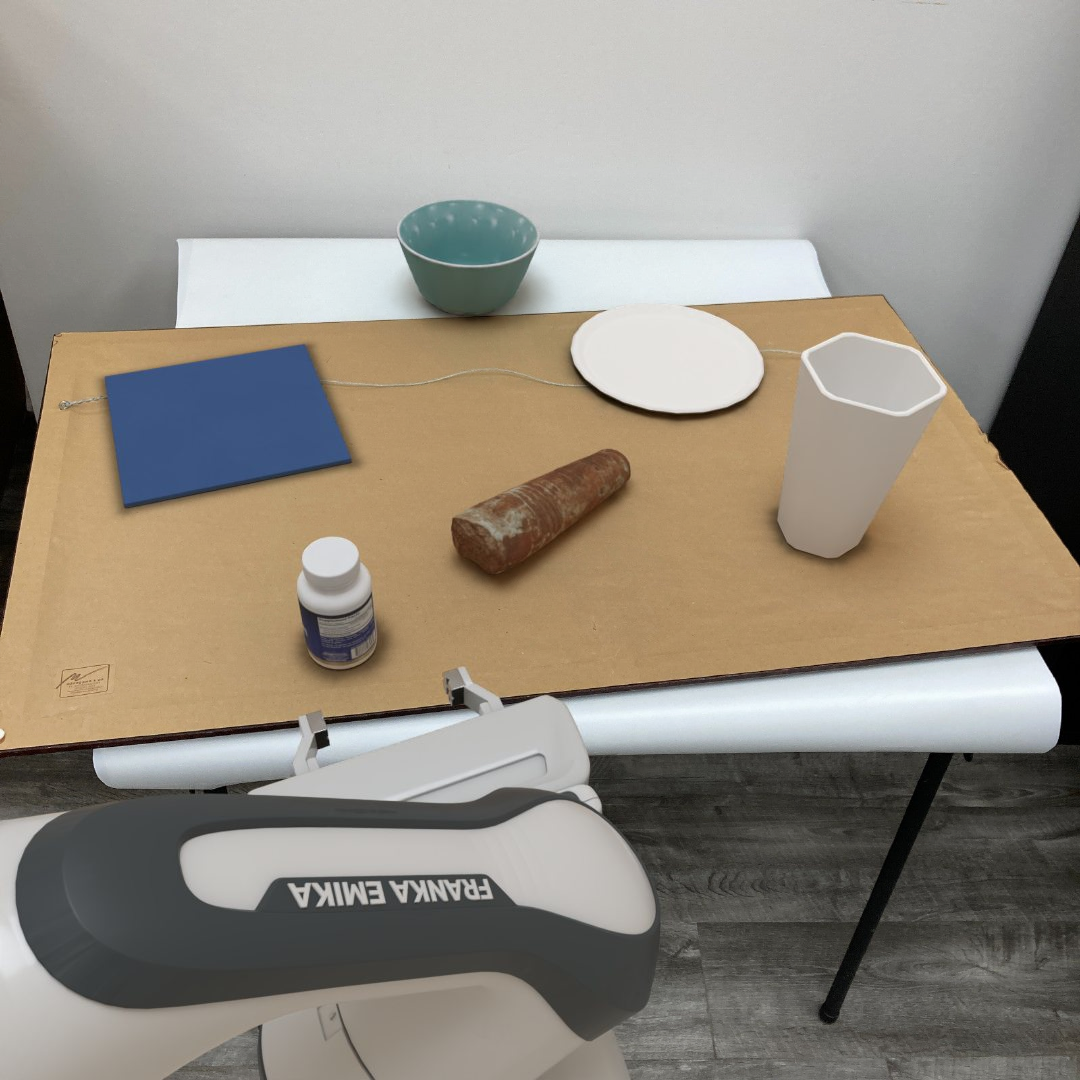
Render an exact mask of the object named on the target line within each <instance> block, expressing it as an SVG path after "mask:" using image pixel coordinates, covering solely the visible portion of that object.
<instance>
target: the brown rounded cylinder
mask: <svg viewBox="0 0 1080 1080" xmlns="http://www.w3.org/2000/svg"><path fill="white" fill-rule="evenodd" d="M631 470H632V469H631V464H630V461H629V459H628V458H627V456H625V455H624V453H622V452H621V451H619V450H617V449H613V448H602V449H600V450H598V451H596V452H594V453H592V454H589V455H587V456H584V457H582V458H579V459H577V460H574V461H572V462H570V463H567V464H565V465H563V466H560V467H557V468H555V469H553V470H551V471H548V472H546V473H544V474H542V475H540V476H539V475H538V476H537V477H534V478H532V479H530V480H528V481H525V482H523V483H522V484H519V485H517V486H514V487H512V488H509V489H508V490H505V491H503V492H501V493H499V494H497V495H495V496H492V497H490V498H488V499H485V500H483V501H481V502H478V503H477V504H475V505H473V506H471V507H469V508H468V509H466V510H464V511H463V512H461V513H458V514H456V515H454V516H453V517H452V518H451V525H450V532H451V539H452V545H453V546H454V548H455V550H456V551H457V553H458V554H459V555H460V556H463V557H465V558H468V559H470V560H471V561H473V563H475V564H477V566H479V567H480V569H482V570H484V572H486V573H489V574H492V575H498V574H501V573H503V572H507V571H508V570H510V569H512V568H514V567H515V566H517V565H518V564H520V563H521V562H523V561H524V560H526V559H527V558H528V557H531V555H533V554H534V553H536V552H537V551H539V550H541V548H544V547H545V546H546V545H547V544H548V543H550V542H551V541H552V540H554V539H555V538H557V537H558V536H560V534H562V533H563V532H565V531H566V530H567V529H568V528H569V527H571V526H572V525H573V524H575V523H576V522H578V521H579V520H580V519H581V518H583V516H585V515H586V514H587V513H589V512H590V511H592V510H593V509H594V508H596V507H597V506H598V505H600V504H601V503H603V502H604V501H605V500H606V499H608V498H609V497H610V496H611V495H613V494H614V493H615V491H617V490H619V489H620V488H621V487H622V486H623V485H625V484H627V482H629V480H630V478H631V475H632V473H631V472H632V471H631Z"/></svg>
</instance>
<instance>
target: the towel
mask: <svg viewBox="0 0 1080 1080" xmlns="http://www.w3.org/2000/svg"><path fill="white" fill-rule="evenodd" d="M104 382H105V388H106V395H107V401H108V408H109V415H110V422H111V429H112V435H113V442H114V449H115V453H116V454H115V455H116V461H117V467H118V468H117V471H118V475H119V482H120V483H119V484H120V488H121V495H122V503H123V507H124V509H127V508H133V507H137V506H142V505H147V504H152V503H153V504H154V503H157V502H162V501H166V500H173V499H177V498H182V497H183V498H184V497H186V496H187V497H188V496H193V495H196V494H201V493H202V494H203V493H206V492H212V491H217V490H221V489H227V488H232V487H237V486H241V485H246V484H251V483H256V482H261V481H267V480H272V479H276V478H282V477H286V476H290V475H296V474H300V473H301V474H302V473H306V472H310V471H317V470H321V469H325V468H331V467H335V466H340V465H345V464H350V463H352V457H351V454H350V452H349V450H348V449H349V448H348V447H347V444H346V441H345V439H344V437H343V434H342V432H341V430H340V427H339V424H338V422H337V420H336V417H335V414H334V412H333V410H332V407H331V405H330V403H329V400H328V397H327V394H326V393H325V390H324V388H323V385H322V382H321V380H320V378H319V375H318V373H317V370H316V368H315V366H314V363H313V361H312V358H311V355H310V352H309V351H308V349H307V346H306V344H305V343H302V344H295V345H289V346H283V347H277V348H271V349H265V350H260V351H259V350H258V351H254V352H253V351H252V352H247V353H241V354H234V355H229V356H222V357H217V358H209V359H204V360H197V361H192V362H185V363H179V364H172V365H167V366H160V367H155V368H147V369H143V370H136V371H129V372H124V373H117V374H111V375H105V376H104Z"/></svg>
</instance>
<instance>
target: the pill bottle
mask: <svg viewBox="0 0 1080 1080" xmlns="http://www.w3.org/2000/svg"><path fill="white" fill-rule="evenodd" d="M301 565H302V570H301V571H300V573H299V575H298V577H297V580H296V596H297V601H298V606H299V607H298V608H299V613H300V618H301V623H302V628H303V633H304V639H305V645H306V649H307V652H308V654H309V656H310V657H311V658H312V660H313V661H314V662H316V664H318V665H320V666H322V667H324V668H327V669H332V670H346V669H351V668H354V667H356V666H359V665H361V664H363V663H364V662H365V661H367V660H368V659H369V658H370V657H371V656H372V655H373V653H374V651H375V650H376V647H377V644H378V643H377V642H378V632H377V631H378V630H377V621H376V611H375V603H374V602H375V601H374V592H373V582H372V576H371V573H370V571H369V569H368V568H367V566H366V565H365V564H363V562H361V557H360V553H359V549H358V547H357V545H355V543H353V542H352V541H351V540H349V539H347V538H345V537H341V536H325V537H321V538H319V539H318V538H317V539H316V540H314V541H312V542H311V543H309V544H308V545H307V546H306V548H305V549H304V550H303V552H302V555H301Z"/></svg>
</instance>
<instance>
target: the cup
mask: <svg viewBox="0 0 1080 1080" xmlns="http://www.w3.org/2000/svg"><path fill="white" fill-rule="evenodd" d="M796 381H797V382H796V389H795V396H794V401H793V402H794V403H793V409H792V417H791V423H790V430H789V436H788V444H787V450H786V457H785V464H784V470H783V477H782V485H781V492H780V499H779V504H778V505H779V506H778V511H777V519H776V522H777V524H778V526H779V528H780V530H781V532H782V534H783V537H784V538H785V541H786V543H787V544H789V545H790V546H791V547H792V548H794V550H795V549H796V550H799V551H802V552H805V553H808V554H811V555H815V556H818V557H821V558H824V559H837V558H839V557H841V556H843V555H844V554H846V553H847V552H849V551H850V550H852V549H853V548H855V547H856V546H858V545H859V543H860V542H861V541H862V539H863V538H864V536H865V534H866V532H867V530H868V528H869V526H870V525H871V524H872V521H873V520H874V518H875V517H876V515H877V513H878V511H879V510H880V509H881V507H882V505H883V503H884V501H885V500H886V498H887V497H888V494H889V493H890V491H891V489H892V488H893V486H894V485H895V483H896V481H897V479H898V478H899V476H900V474H901V472H902V471H903V469H904V467H905V466H906V464H907V462H908V461H909V459H910V457H911V455H912V454H913V452H914V450H915V449H916V447H917V445H918V444H919V442H920V440H921V439H922V436H924V434H925V431H926V430H927V428H928V426H929V425H930V423H931V422H932V420H933V418H934V416H935V414H936V413H937V411H938V410H939V408H940V407H941V405H942V403H943V401H944V399H945V398H946V396H947V392H948V387H947V385H946V384H945V383H944V381H943V380H942V378H941V377H940V376H939V374H938V373H937V372H936V371H935V369H934V368H933V366H932V365H931V364H930V362H929V361H928V360H927V359H926V357H925V355H923V353H922V351H920V350H918V349H917V348H915V347H913V346H910V345H906V344H901V343H897V342H894V341H889V340H885V339H882V338H878V337H875V336H874V337H873V336H869V335H866V334H861V333H857V332H852V331H851V332H842V333H839V334H837V335H835V336H833V337H831V338H829V339H826V340H824V341H822V342H820V343H818V344H816V345H814V346H812V347H809V348H807V349H805V350H803V351H802V353H801V356H800V361H799V369H798V374H797V380H796Z"/></svg>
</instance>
